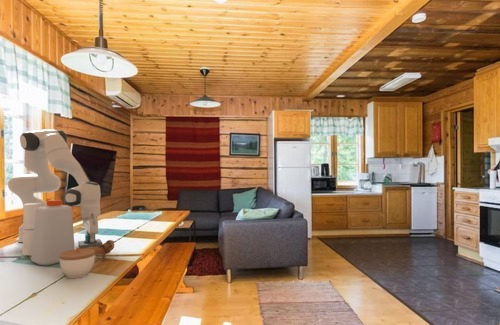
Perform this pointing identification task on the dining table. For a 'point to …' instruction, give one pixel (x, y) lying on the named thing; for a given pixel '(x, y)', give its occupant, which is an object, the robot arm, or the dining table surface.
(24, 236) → the cylindrical container
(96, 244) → the bore block
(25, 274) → the dining table surface
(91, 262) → the lidded bowl
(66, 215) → the plastic bottle
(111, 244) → the lion figurine
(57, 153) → the robot arm
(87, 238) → the teal pin
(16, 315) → the dining table surface
